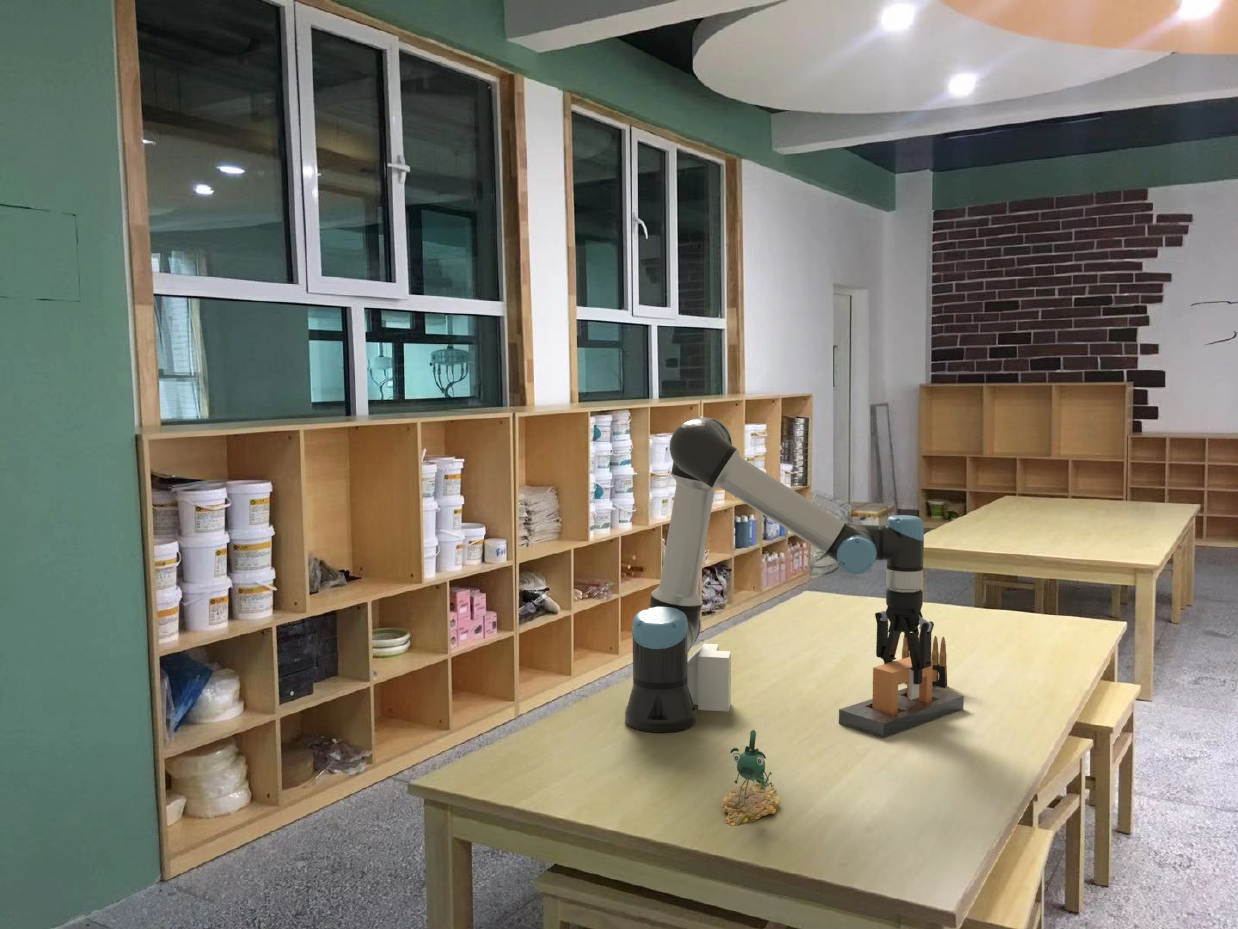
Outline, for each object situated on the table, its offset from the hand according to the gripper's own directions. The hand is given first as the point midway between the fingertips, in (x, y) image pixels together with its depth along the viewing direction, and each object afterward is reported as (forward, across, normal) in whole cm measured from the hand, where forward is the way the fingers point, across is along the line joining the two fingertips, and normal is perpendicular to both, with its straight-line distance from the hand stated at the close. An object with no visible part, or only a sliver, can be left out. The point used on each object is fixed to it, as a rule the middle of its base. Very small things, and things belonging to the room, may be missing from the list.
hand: (902, 694), depth 224 cm
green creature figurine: (+5, -12, +58) cm, 59 cm away
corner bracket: (+5, +34, +26) cm, 43 cm away
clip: (+3, 0, 0) cm, 3 cm away
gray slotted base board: (+5, 0, 0) cm, 5 cm away
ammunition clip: (+5, +11, -23) cm, 26 cm away
